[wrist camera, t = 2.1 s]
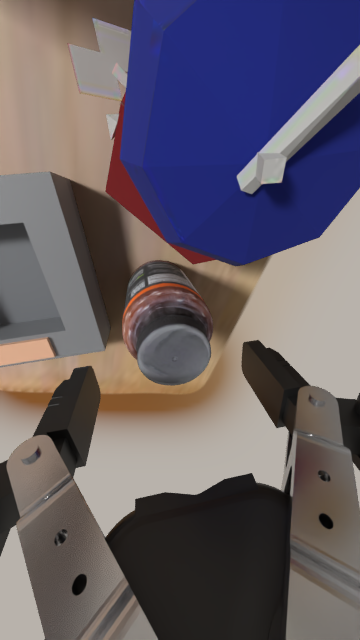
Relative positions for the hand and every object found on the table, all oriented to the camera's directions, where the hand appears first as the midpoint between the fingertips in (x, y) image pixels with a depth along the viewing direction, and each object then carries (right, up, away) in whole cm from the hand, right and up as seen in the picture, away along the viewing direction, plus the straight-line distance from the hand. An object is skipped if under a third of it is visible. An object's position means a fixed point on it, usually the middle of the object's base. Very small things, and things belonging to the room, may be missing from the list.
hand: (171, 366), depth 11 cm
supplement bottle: (-2, +6, +10) cm, 12 cm away
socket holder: (-14, +6, +7) cm, 17 cm away
